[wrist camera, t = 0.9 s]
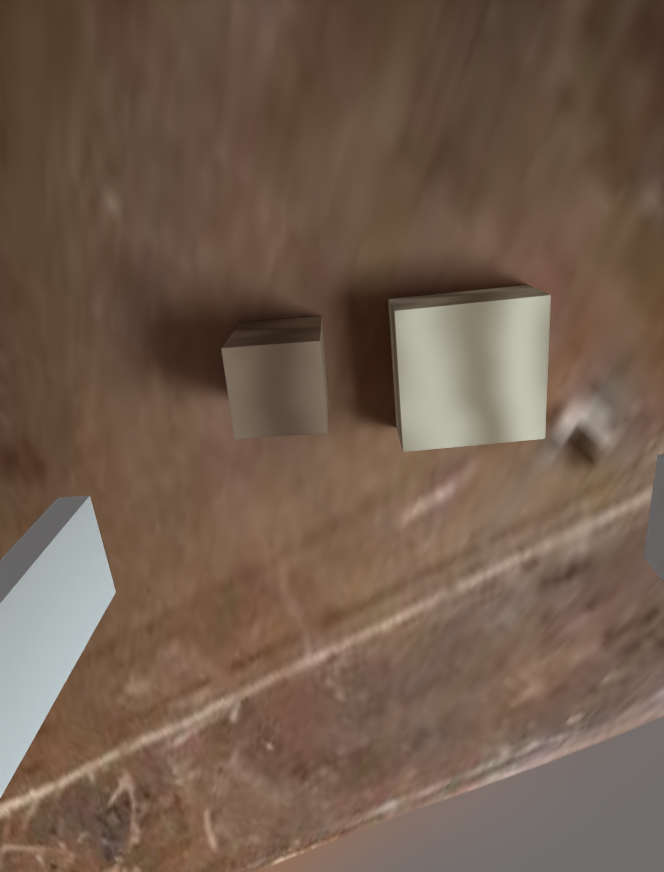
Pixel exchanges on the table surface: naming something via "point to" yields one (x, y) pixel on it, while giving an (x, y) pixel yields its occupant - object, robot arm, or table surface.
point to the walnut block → (277, 378)
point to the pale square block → (470, 367)
